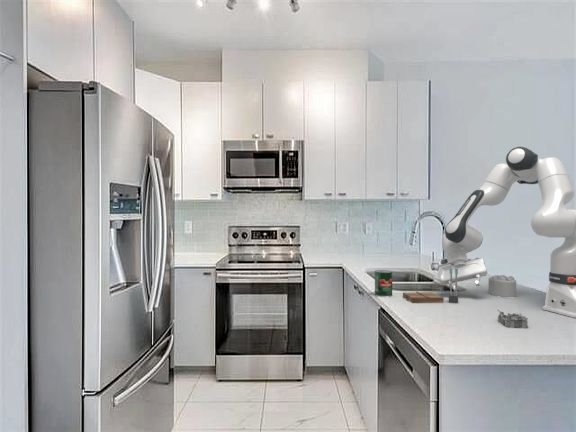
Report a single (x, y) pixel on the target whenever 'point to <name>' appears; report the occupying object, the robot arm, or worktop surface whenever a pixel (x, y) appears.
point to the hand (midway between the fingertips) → (466, 287)
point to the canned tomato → (383, 283)
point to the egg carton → (513, 320)
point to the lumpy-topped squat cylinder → (502, 286)
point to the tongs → (455, 297)
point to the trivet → (423, 297)
